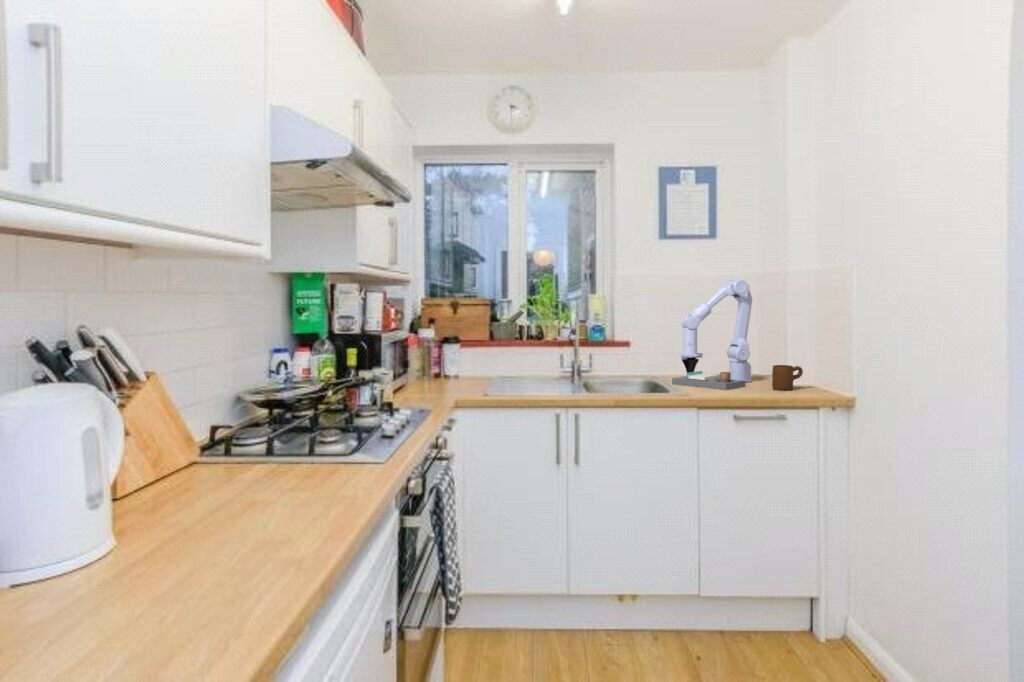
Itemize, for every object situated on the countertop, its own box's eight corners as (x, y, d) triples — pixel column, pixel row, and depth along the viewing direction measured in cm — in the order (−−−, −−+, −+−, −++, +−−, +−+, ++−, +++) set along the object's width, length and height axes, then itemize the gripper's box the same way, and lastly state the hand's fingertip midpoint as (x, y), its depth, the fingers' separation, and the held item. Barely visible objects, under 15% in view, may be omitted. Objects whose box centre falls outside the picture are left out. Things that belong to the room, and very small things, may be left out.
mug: (797, 387, 257) (797, 364, 256) (807, 390, 250) (807, 366, 249) (768, 388, 256) (768, 365, 255) (778, 391, 248) (778, 367, 248)
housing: (691, 380, 283) (691, 375, 282) (745, 386, 263) (745, 380, 262) (672, 383, 274) (672, 377, 274) (726, 390, 254) (726, 383, 254)
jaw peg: (723, 386, 265) (723, 371, 264) (732, 387, 262) (732, 372, 261) (718, 387, 262) (718, 372, 262) (727, 388, 259) (727, 373, 259)
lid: (700, 376, 277) (700, 371, 277) (718, 377, 270) (718, 372, 270) (686, 378, 270) (686, 373, 270) (704, 380, 264) (704, 374, 263)
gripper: (686, 345, 266) (686, 377, 267) (708, 343, 275) (708, 374, 276) (673, 344, 272) (673, 376, 273) (695, 342, 281) (695, 373, 281)
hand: (690, 375), depth 275 cm, fingers closed
